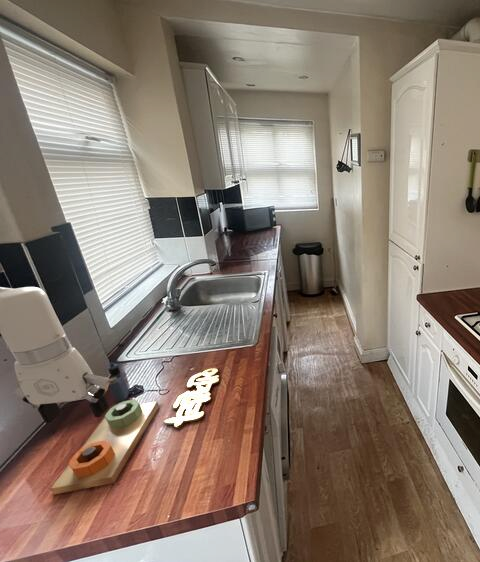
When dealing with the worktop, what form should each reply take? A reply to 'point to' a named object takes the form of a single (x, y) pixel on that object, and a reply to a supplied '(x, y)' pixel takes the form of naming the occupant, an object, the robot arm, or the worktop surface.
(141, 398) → the worktop surface
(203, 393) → the lettering
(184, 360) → the worktop surface
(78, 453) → the orange ring
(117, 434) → the peg board
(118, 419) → the green ring
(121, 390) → the vaping device
